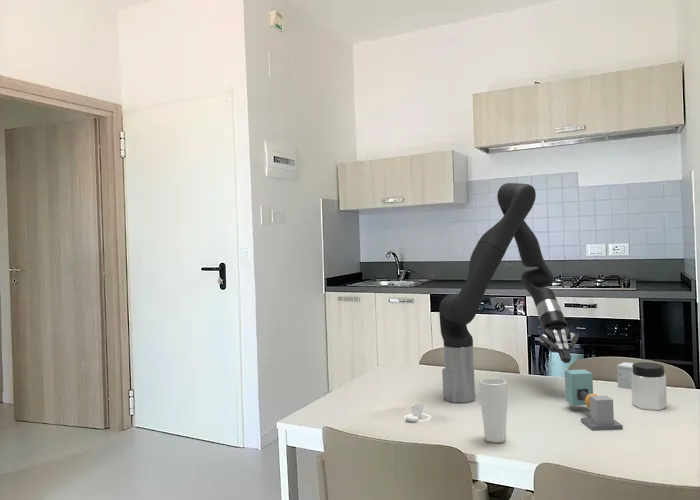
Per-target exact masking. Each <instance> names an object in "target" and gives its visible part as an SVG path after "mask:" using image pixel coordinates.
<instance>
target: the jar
mask: <svg viewBox="0 0 700 500" xmlns="http://www.w3.org/2000/svg"><path fill="white" fill-rule="evenodd" d="M633 363H634V364H633V365H632V366H633V373H631V385H632V389H631V404H632V405H633V406H634V407H636V406H637V408H639V409H640V410H648V411H649V410H650V411H662V410H663V409H666V408H667V407H668V400H667V399H668V398H667V397H668V395H667V375H666V374H665V367H664V365H663V364H660V363H657V362H650V361H649V362H643V361H642V362H641V361H640V362H633Z"/></svg>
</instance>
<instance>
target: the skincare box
mask: <svg viewBox="0 0 700 500" xmlns="http://www.w3.org/2000/svg"><path fill="white" fill-rule="evenodd" d="M634 363H635V362H626V361H624V362H621V363H618V364H617V365H616V367H617V371H616V372H617V387H619V388H624V389H629V390H632V385H631V373H633V366H632V365H633V364H634Z"/></svg>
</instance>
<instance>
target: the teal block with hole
mask: <svg viewBox="0 0 700 500" xmlns="http://www.w3.org/2000/svg"><path fill="white" fill-rule="evenodd" d="M593 377H594V376H593V373H592V372H590V371H589V370H588V369H565V370H564V381H565V382H564V384H565V386H564V388H565V401H566V402H567V403H568V404H570V405H571V406H586V404H585V401H584V400H582V399H581V398H579V397H578V396H577V389H582V390H584V391H585V392H587V393H589V394H594V385H593V384H594V383H593V382H594V380H593Z"/></svg>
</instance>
